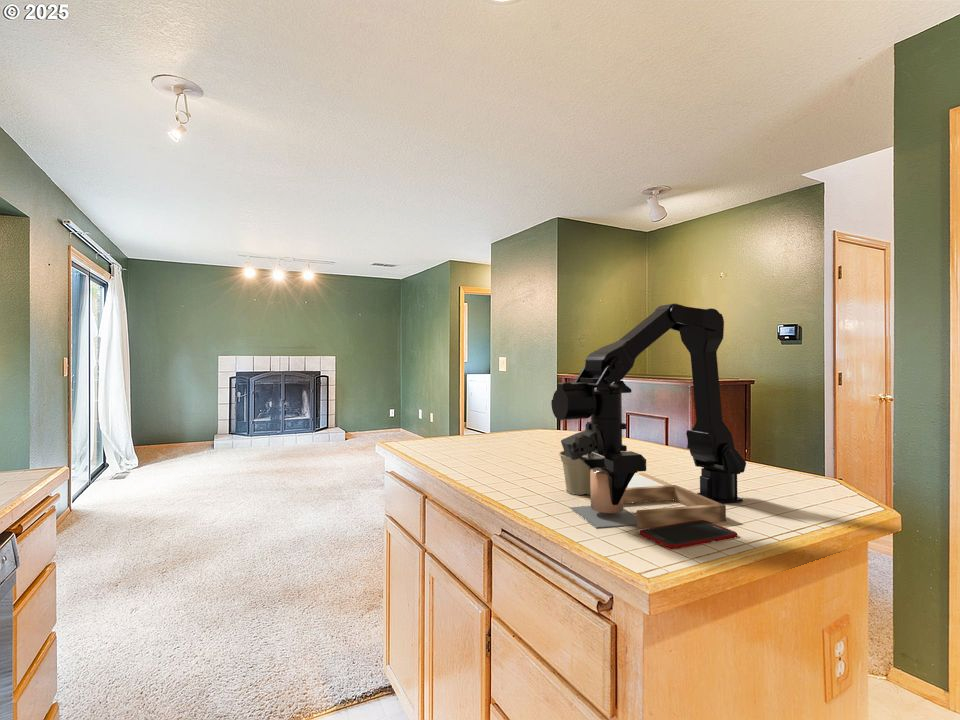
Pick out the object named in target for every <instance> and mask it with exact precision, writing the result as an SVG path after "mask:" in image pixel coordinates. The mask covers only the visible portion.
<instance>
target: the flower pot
mask: <svg viewBox="0 0 960 720" xmlns="http://www.w3.org/2000/svg"><path fill="white" fill-rule="evenodd" d="M558 455H559V457H560V460H561V463H562V468H563V469H562V470H563V475H564V481H565V489H566V492H568V494H571V495H576V496H583V495H588V496H591V485H590V471H589V468H588V466H587V465H586V464H585V463H584V462H582V461H581V460H580V459H577V460H572V459H571V458H570V457H566V455H565V452H564V450H561V451H559V452H558ZM582 457H583V456H582Z"/></svg>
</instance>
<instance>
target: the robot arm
mask: <svg viewBox="0 0 960 720" xmlns="http://www.w3.org/2000/svg"><path fill="white" fill-rule="evenodd" d="M724 320H725V319H724V317H723V314H722V313H720V312H719V311H718V310H717V309H715V308H711V307H709V308H698V307H691V306H685V305H683V304H679V303H668V304H664V305H663V304H661V305H659V306H657V307H656V308H655V310H654V311H653V312H652V313H651V314H649V316H647V317H646V318H644V319H643V320H642V321H641V322H639V323H638V324H637V325H635V326H634V327H633V328H632V329H631V330H630V331H628V332H627V333H626V334H625V335H623V336H622V337H621V338H620V339H619V340H616V341H615V342H612V343H610V344H606V345H605V346H602V347H600V348H597V349H596V350H594V351H593V352H590V353H589V354H588V355H587V356H586V358H585V360H584V362H585V363H584V366H583V368H582V370H581V371H580V373H579V375H578V376H577V377H576V379H575V381H574V382H558V383H557V389H556V390H555V391H554V393H553V396H552V399H551V403H550V405H551V410H552V413H553V416H554V418H556V420H558V421H569V420H570V421H571V420H584V419H585V420H586V419H589V418H590V421H587V422H586V423H585V430H582V431H580V432H576V433H574V434H571V435H569V436H567V437H565V438H563V439H561V440H560V443H561V445H562V449H563V451H564V452H565V455H566V457H570V458H571V459H572V460H577V459H580V460H581V461H582V462H584V463H585V464H586V465H587V466H588V468H589V471H590V470H591V469H593V468H596V467H606V468H601V470H602V471H603V472H604V473H605V474H606V475H607V476H608V480H609V488H610V496H611V502H612V505H618V504H619V502H620V500H621V498H622V496H623V494H624V492H625V490H626V488H627V486H628V484H629V482H630V481H631V479H632V477H633V476H634V475H636V474H638V472H639V473H640V472H646V471H647V459H646V457H644V455H642V454H641V453H637V452H635V451H631V450H630V451H628V449H627V448H628V447H627V445H625V444H623V430H627V423H625V422H623V407H622V405H623V401H622V400H623V399H622V397H623V396H622V394H629V393H630V394H631V393H632V389H631V388H630V386H629V385H627V384H626V383H625V381H624V380H623V379H624V378H625V377H626V376H627V375H628V373H629V372H630V371H631V370H632V369H633V367H634V364H635V362H636V359H637V358H638V357H639V355H641V354H642V353H643V352H645V350H646V349H648V348H649V347H650V346H651V345H653V344H654V343H655V342H656V341H657V340H659V339H660V338H661V337H662V336H664V335H665V334H666V333H667V332H668V331H670V330H672V331H676V332H679V335H680V340H681V342H682V344H683V345H684V346H685V348H686V349H687V351H688V353H689V355H690V363H691V364H690V365H691V376H692V387H693V398H694V408H695V410H694V411H695V423H694V425H693V426H692V429H687V430H686V439H687V446H686V449H687V450H689V452H690V456H691V457H692V459H693V463H694V466H695V467H696V468H697V467H698V468H699V467H700V469H701V472H700V474H701V475H700V476H699V492H696V494H699V495H701V496H704V497H706V498H709V499H711V500H713V501H716V502H718V503H721V504H725V503H727V504H728V503H738V502H743V501H744V499H743V497H739V496H738V475H740V474H742V473H744V472H745V470H746V466H747V462H746V460H745V459H744V458H743V457H742V455H741V454H740V453H739V452H738V451H737V449H736V448H735V444H734V442H735V441H734V438H733V434H732V433H731V431H730V430H729V428H728V426H727V425H726V424H725V422H724V421H723V414H722V411H723V410H722V401H721V390H720V379H719V377H720V376H719V366H718V364H719V363H718V355H717V353H718V352H717V351H718V349H719V348H720V346H721V343H722V341H723V339H724V330H725V321H724ZM582 456H583V457H582Z"/></svg>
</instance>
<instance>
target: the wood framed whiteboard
mask: <svg viewBox="0 0 960 720" xmlns="http://www.w3.org/2000/svg"><path fill="white" fill-rule="evenodd" d="M665 485H673V484H672V483H669V482H667V481H664V480H662V479H659V478H656V477H654V476H652V475H650V474H648V473H645V472H639V473H638V474H634V476H633V477H632V479H631V481H630V482H629V484H628V486H627V488H635V487H650V486H665Z"/></svg>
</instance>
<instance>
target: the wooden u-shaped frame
mask: <svg viewBox="0 0 960 720" xmlns="http://www.w3.org/2000/svg"><path fill="white" fill-rule="evenodd" d="M673 499H674V500H673ZM657 500H666V501H675V500H676V502H677V501H678V503H679V502H680V503H679V504H681V503H682V504H681V505H684V506H675V507H672V506H671V507H663V508H661V507H660V508H650V509H649V508H648V509H637V510H636V516H637V525H636V527H637V528H639V529H648V528H654V527H661V526H667V525H673V524H679V523H685V522H691V521H697V520H705V521H708V522H711V523H718V522H726V521H727V509H726V508H727V507H726V505H725V504H724V503H718V502H716V501H713V500H711V499H709V498H706V497H704V496H701V495H699V494H697V492H694V491H692V490H689V489H686V488H685V487H682V486H679V485H677V484H672V485H665V486H650V487H635V488H626V490H625V492H624V494H623V503H625V504H633V503H632V502H638V503H645V502H644V501H652V502H658V501H657Z"/></svg>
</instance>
